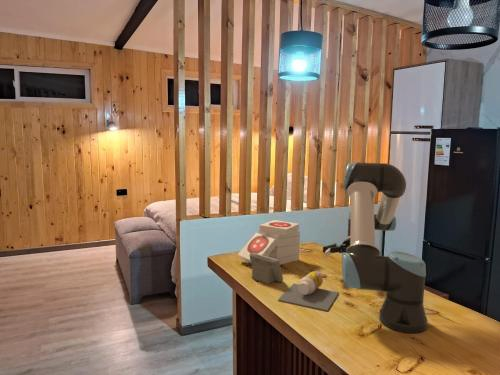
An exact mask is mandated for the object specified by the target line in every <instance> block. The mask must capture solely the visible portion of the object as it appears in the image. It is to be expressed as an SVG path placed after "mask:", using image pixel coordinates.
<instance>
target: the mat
mask: <svg viewBox="0 0 500 375" xmlns="http://www.w3.org/2000/svg"><path fill="white" fill-rule="evenodd" d="M298 285H299V283H298V284H297V283H293V284H292V285H291V286H290V287H288V289H286V290H285V292H284V293H283V294H281V296H280V297H279V298H278V299H277V301H278V302H283V303H286V304H291V305H296V306H301V307H305V308H311V309H315V310H319V311H324V312H328V311H329V309H330V308H331V306H333V303H334V302H335V300H336V299H337V297H338V295H339V294H340V292H339V291H335V290H328V289H325V288H320V287H319V288H317V289H316V290H315V291H314V292H313V293H311V294H306V295H302V294H301V293H300V292H299V291H298Z"/></svg>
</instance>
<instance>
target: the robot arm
mask: <svg viewBox="0 0 500 375" xmlns="http://www.w3.org/2000/svg"><path fill="white" fill-rule="evenodd" d="M406 189H407V181H406V177H405V175H404V174H403V172H402V171H401V170H400V169H399V168H397V167H396V166H394V165H393V164H389V163H385V162H381V163H379V162H378V163H377V162H375V163H373V162H359V161H358V162H349V163H347V165H346V169H345V173H344V180H343V190H344V191H346V194H347V195H348V196H349V197H350V209H349V211H348V217H347V221H348V222H347V237H346V238H345V239H344V241H342V243H341V244H339V245H338V243H332V244H329V245H325V246H322V253H324V259H327V258H329V256H330V255H331V254H336V253H339V254H341V270H342V274H341V275H342V280H343V284H344V285H345V287H347V288H351V289H356V290H359V291H360V290H364V291H377V292H385V298H384V300H383V302H382V306H381V308H380V309H379V313H378V314H379V315H378V320H379V322H380V323H381V324H383V326H385V327H387V328H389V329H391V330H393V331H397V332H399V333H405V334H419V333H422V332H425V331H426V330H427V328H428V317H427V315H426V311H425V306H424V297H425V296H424V295H425V286H426V285H425V284H426V276H427V274H426V273H427V269H426V265H427V264H426V263H425V261H424V260H423V259H422V258H420V257H418V256H416V255H414V254H411V253H408V252H403V251H396V250H395V251H389V253H388V254H387V256H386V255H385V256H384V255H381V250H380V249H379V248H378V247H377V246H376V233H375V232H376V231H385V232H388V231H389V232H390V231H392V232H393V231H395V230H396V226H397V218H396V216H395V214H396V210H397V208H398V205H399V202H400V200H401V197H403V196H404V194H405V192H406ZM378 193H381V196H380V198H379V199H380V200H379V204H378V206H377V207H378V208H377V212H376V214H375V200H374V198H375V197H376V196H377V195H378Z"/></svg>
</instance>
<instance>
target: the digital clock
mask: <svg viewBox="0 0 500 375" xmlns="http://www.w3.org/2000/svg"><path fill="white" fill-rule="evenodd" d="M250 261H251V263H250V264H251V269H252V271H251V272H252V273H251V279H252V280H256V281H258V282H261V283H264V284H267V285H269V284H271V283H273V282H279V283H281V282H283V280H284V277H283V272H282V267H281V264H280V262H279V260H277V259H274V258H270V257H267V256H263V255H260V254H256V253H250Z"/></svg>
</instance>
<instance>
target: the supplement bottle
mask: <svg viewBox="0 0 500 375" xmlns="http://www.w3.org/2000/svg"><path fill="white" fill-rule="evenodd" d="M323 278H324V277H323V276H322V275H321V273H319V272H318V271H313V270H312V271H311V272H309V273H308V274H306V275H305V276H303V277H302V278H301V279H300V280H299V282H298V284H299V285H298V291H299V292H300V293H301V294H302V295H306V294H311V293H313V292H314V291H315V290H316V289H317V288H320V287H321V286H322V284H323V282H324V279H323Z"/></svg>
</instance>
